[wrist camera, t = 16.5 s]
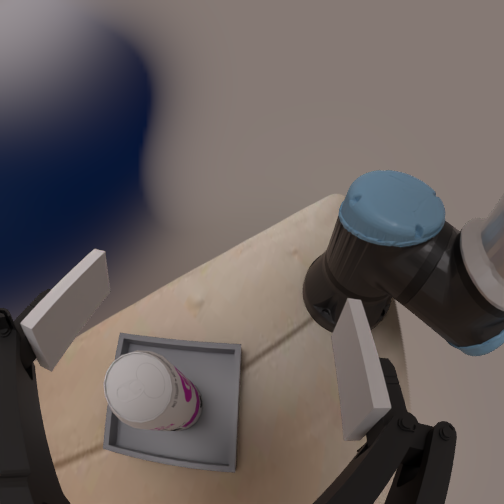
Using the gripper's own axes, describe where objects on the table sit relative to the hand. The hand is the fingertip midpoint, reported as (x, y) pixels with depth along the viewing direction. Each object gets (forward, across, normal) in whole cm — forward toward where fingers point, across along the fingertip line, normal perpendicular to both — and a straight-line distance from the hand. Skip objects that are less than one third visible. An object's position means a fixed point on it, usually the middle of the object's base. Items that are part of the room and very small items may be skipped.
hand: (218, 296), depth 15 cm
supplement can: (+8, -6, -27) cm, 29 cm away
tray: (+9, -6, -28) cm, 30 cm away
